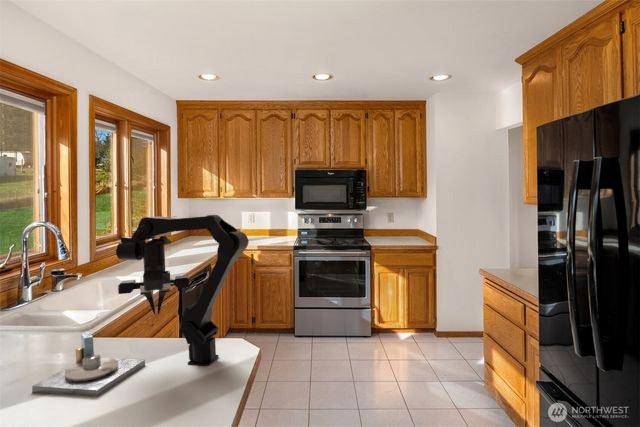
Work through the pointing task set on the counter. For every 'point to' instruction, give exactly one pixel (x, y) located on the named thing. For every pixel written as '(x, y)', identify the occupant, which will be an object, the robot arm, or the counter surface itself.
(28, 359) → the counter surface
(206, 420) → the counter surface
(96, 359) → the flange
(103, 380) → the locating plate
